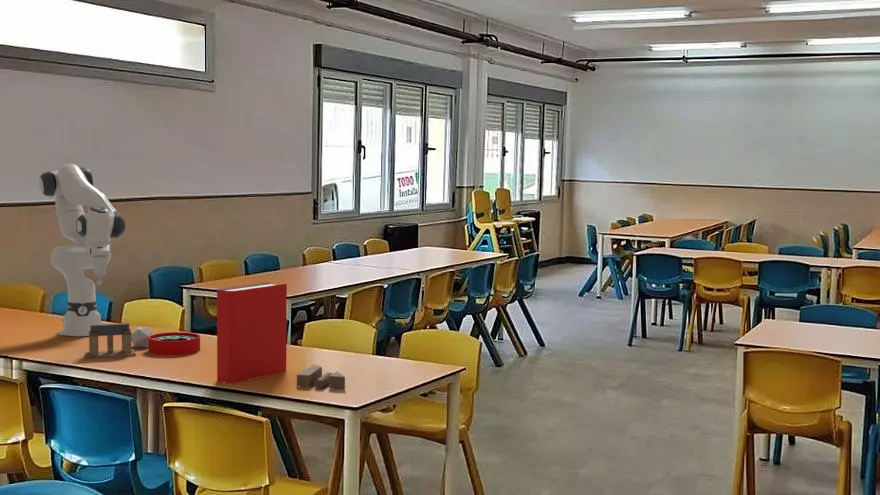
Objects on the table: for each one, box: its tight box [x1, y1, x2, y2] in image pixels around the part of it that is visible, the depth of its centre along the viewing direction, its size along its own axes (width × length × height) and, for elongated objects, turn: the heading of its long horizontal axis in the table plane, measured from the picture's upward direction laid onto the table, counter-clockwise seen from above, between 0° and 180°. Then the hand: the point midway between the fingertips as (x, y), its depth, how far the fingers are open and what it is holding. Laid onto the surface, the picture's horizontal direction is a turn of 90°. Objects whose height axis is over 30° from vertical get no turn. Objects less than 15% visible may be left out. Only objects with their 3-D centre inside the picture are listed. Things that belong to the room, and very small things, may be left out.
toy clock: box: [147, 331, 201, 357], centre depth 375 cm, size 20×6×20 cm
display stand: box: [84, 328, 137, 360], centre depth 363 cm, size 8×18×10 cm, turn 113°
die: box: [131, 326, 153, 349], centre depth 381 cm, size 8×9×10 cm
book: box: [216, 281, 288, 384], centre depth 332 cm, size 27×8×32 cm, turn 147°
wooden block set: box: [296, 364, 346, 390], centre depth 325 cm, size 17×6×18 cm
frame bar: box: [90, 322, 130, 337], centre depth 362 cm, size 2×14×4 cm, turn 115°
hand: (98, 283), depth 371 cm, fingers open, 8 cm apart
